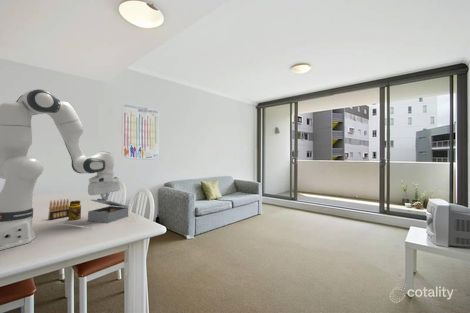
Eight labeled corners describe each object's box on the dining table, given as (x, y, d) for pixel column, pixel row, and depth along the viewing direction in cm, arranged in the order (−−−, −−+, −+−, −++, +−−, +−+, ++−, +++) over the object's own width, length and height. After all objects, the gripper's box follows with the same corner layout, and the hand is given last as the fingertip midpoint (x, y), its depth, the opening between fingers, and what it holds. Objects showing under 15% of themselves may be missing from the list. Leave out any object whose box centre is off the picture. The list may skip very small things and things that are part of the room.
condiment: (77, 222, 130) (77, 202, 130) (61, 222, 129) (62, 202, 129) (83, 218, 137) (84, 200, 137) (69, 219, 136) (70, 200, 136)
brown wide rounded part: (103, 220, 130) (104, 212, 130) (98, 220, 131) (99, 211, 131) (109, 219, 134) (109, 210, 134) (104, 218, 135) (104, 210, 135)
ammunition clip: (49, 220, 132) (50, 200, 132) (48, 220, 133) (48, 200, 133) (69, 216, 142) (70, 198, 142) (68, 216, 142) (68, 198, 143)
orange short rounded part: (113, 217, 137) (113, 209, 137) (108, 217, 138) (108, 209, 138) (118, 216, 141) (118, 208, 141) (113, 215, 142) (113, 208, 142)
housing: (108, 224, 126) (108, 213, 126) (87, 222, 130) (88, 211, 130) (128, 217, 142) (128, 207, 142) (109, 215, 145) (109, 206, 146)
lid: (110, 202, 128) (111, 199, 128) (90, 200, 132) (91, 198, 132) (128, 207, 142) (129, 204, 143) (110, 205, 146) (111, 203, 146)
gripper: (114, 176, 144) (114, 197, 144) (86, 179, 124) (85, 203, 124) (122, 176, 142) (122, 197, 142) (94, 179, 122) (94, 204, 122)
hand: (104, 200), depth 133 cm, fingers closed
